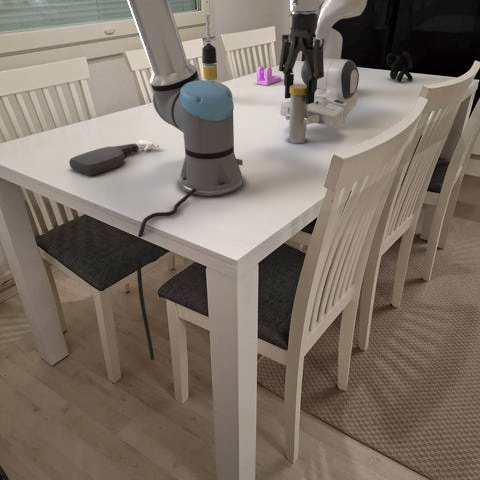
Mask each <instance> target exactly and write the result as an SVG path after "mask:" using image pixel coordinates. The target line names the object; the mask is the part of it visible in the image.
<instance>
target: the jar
mask: <svg viewBox="0 0 480 480" xmlns="http://www.w3.org/2000/svg"><path fill="white" fill-rule="evenodd" d="M289 99H290V101H289V102H290V120H289V123H288V125H289V126H288V142H289V143H291V144H304V143H305V142H306V136H307V124H304V123H303V121H304V120H303V119H304V117H307V105H308V104H306V95H293V94H291V98H289Z"/></svg>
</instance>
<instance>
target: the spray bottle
mask: <svg viewBox="0 0 480 480" xmlns="http://www.w3.org/2000/svg"><path fill="white" fill-rule="evenodd" d="M159 148H160V145H159V144H158V143H155V142H151V141H148V140H144V139H139V140H138V141H137V142H135V143H129V144H128V143H126V144H122V145H113V146H105V147H100V148H97V149H94V150H90V151H87V152H83V153H81V154H78V155H74V156H73V157H70V159H69V161H68V162H69V167H70V168H71V169H72V170H74V171H75V172H78V173H81V174H83V175H85V176H89V177H90V176H91V177H92V176H95V175H99V174H102V173H105V172H107V171H110V170H113V169H116V168H118V167H120V166H122V165H123V164H124V163H125V158H126V156H127V155H131V154H133V153H138V151H140V150H143V151H144V152H146V151H147V150H149V149H159Z"/></svg>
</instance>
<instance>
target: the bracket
mask: <svg viewBox="0 0 480 480" xmlns="http://www.w3.org/2000/svg"><path fill="white" fill-rule="evenodd" d="M281 80H282V76H281V75H273V69H272V67H265V68H264V66H258V67H257V68H256V85H263V86H269V85H273V84H274V83H277V82H280V81H281Z"/></svg>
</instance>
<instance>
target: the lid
mask: <svg viewBox="0 0 480 480" xmlns="http://www.w3.org/2000/svg"><path fill="white" fill-rule="evenodd" d="M306 89H307V85H305V84H304V83H296V84H295V83H294V85H291V86H290V94H293V95H306Z"/></svg>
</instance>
